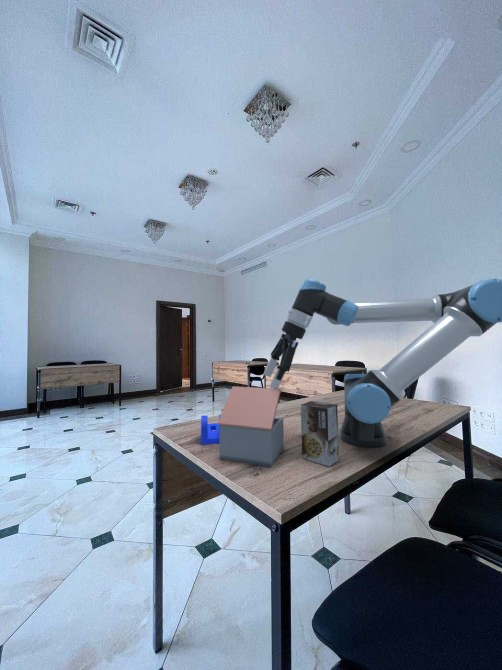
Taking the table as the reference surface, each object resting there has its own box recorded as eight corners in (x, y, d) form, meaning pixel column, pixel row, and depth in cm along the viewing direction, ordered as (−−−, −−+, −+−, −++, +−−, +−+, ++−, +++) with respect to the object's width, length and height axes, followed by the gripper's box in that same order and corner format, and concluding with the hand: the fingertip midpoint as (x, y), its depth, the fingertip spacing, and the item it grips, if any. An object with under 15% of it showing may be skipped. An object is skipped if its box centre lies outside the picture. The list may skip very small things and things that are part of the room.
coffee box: (339, 460, 81) (338, 404, 81) (329, 467, 76) (328, 408, 77) (312, 451, 87) (311, 400, 88) (300, 458, 82) (300, 403, 83)
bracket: (225, 444, 95) (225, 417, 95) (201, 445, 94) (201, 418, 94) (223, 428, 113) (223, 405, 113) (202, 429, 112) (202, 406, 112)
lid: (280, 391, 87) (280, 388, 86) (271, 430, 77) (270, 428, 76) (233, 388, 93) (232, 386, 92) (218, 424, 83) (217, 422, 82)
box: (283, 448, 90) (283, 418, 90) (271, 467, 77) (270, 431, 77) (238, 442, 95) (238, 414, 96) (219, 458, 82) (219, 425, 83)
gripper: (279, 316, 104) (255, 367, 106) (295, 324, 80) (265, 390, 82) (296, 324, 105) (273, 374, 107) (318, 334, 81) (287, 399, 83)
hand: (269, 381), depth 94 cm, fingers open, 13 cm apart
